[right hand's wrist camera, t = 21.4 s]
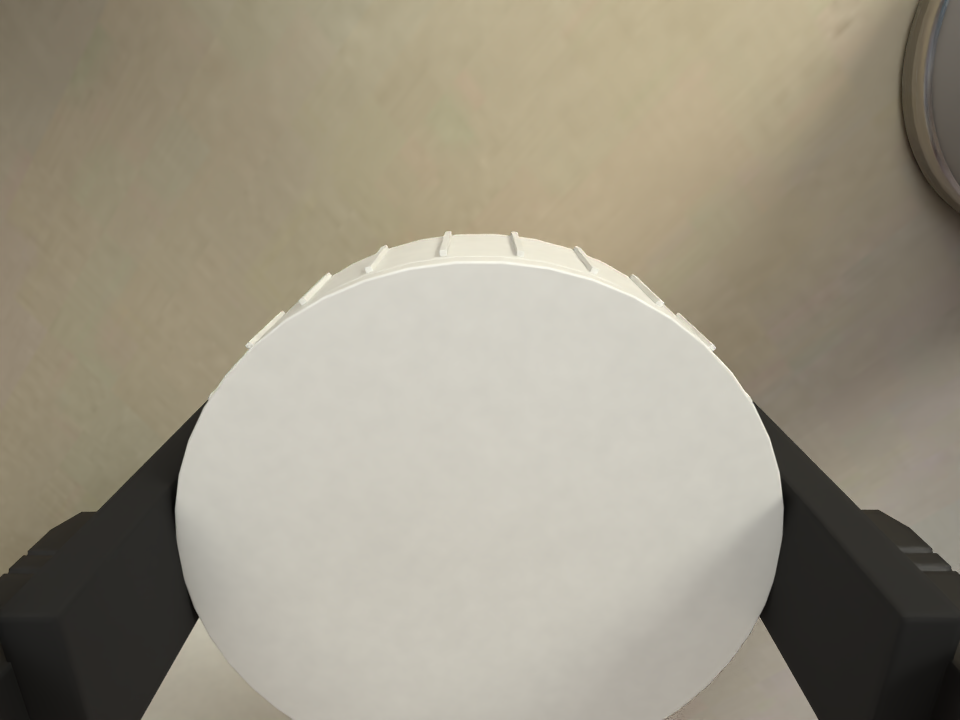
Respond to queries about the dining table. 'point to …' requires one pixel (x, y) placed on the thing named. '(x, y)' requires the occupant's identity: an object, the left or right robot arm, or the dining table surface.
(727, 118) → the dining table surface
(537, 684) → the lid
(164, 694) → the jar
